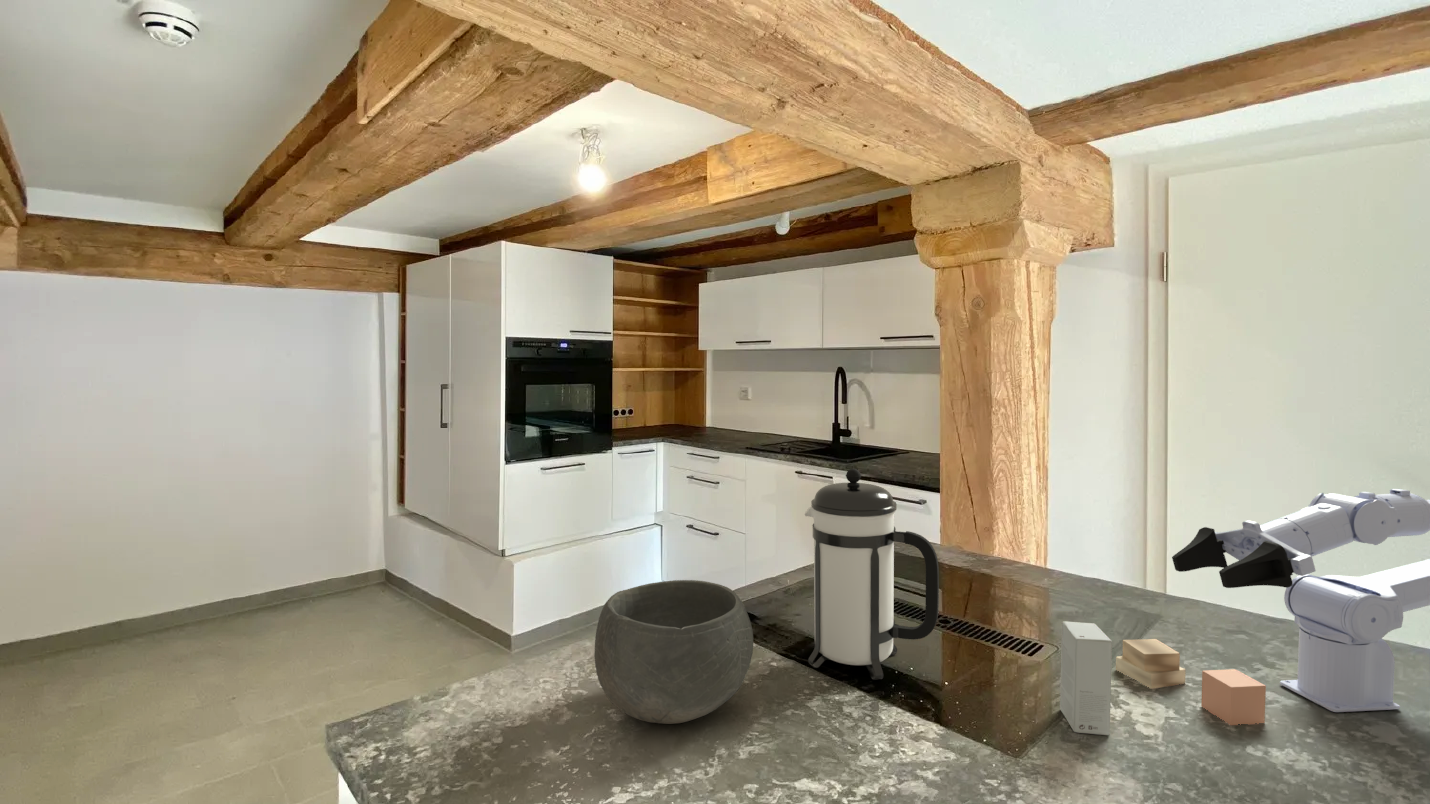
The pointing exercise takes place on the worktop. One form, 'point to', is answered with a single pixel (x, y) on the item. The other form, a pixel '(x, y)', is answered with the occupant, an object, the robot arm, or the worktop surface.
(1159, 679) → the tower base
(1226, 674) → the cube
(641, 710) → the bowl
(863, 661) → the coffee press
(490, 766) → the worktop surface
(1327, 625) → the robot arm
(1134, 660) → the tower mid
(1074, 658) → the skincare box
